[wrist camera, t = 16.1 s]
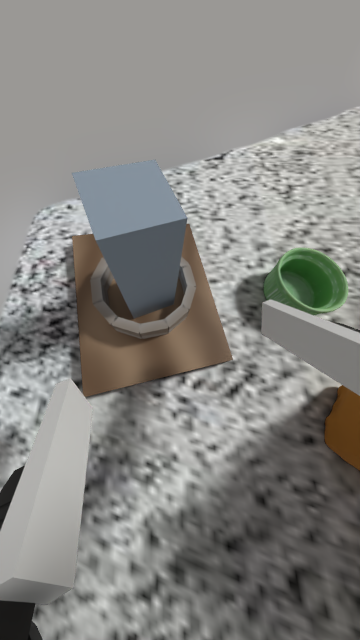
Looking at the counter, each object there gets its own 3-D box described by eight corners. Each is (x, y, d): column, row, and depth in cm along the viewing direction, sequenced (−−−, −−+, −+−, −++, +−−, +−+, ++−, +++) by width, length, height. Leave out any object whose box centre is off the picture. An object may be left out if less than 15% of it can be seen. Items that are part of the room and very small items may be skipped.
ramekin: (319, 330, 24) (353, 320, 19) (256, 314, 23) (276, 300, 19) (316, 275, 27) (345, 257, 22) (260, 261, 26) (279, 239, 22)
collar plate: (187, 232, 27) (191, 208, 23) (228, 360, 21) (242, 357, 17) (77, 244, 24) (61, 219, 20) (89, 395, 18) (70, 400, 14)
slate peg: (158, 271, 22) (155, 159, 11) (173, 304, 21) (187, 217, 9) (120, 282, 21) (71, 173, 10) (133, 318, 20) (95, 240, 8)
